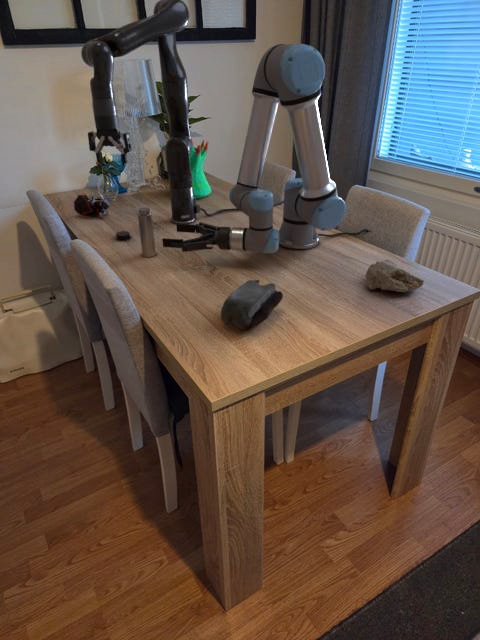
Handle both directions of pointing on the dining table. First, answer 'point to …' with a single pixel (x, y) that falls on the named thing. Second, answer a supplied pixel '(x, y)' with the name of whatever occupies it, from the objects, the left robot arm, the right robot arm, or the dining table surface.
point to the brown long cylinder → (146, 232)
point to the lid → (123, 235)
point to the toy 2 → (198, 171)
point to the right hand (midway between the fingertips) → (170, 234)
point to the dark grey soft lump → (250, 304)
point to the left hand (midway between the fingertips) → (112, 164)
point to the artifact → (391, 277)
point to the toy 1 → (90, 206)
